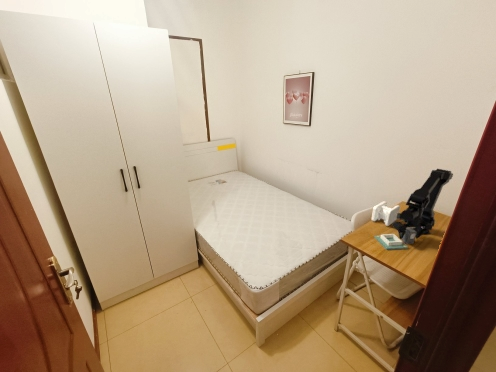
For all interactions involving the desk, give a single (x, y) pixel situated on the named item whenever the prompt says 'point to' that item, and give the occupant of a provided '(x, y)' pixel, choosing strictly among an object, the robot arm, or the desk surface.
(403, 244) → the board
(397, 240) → the socket
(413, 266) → the desk surface
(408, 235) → the plug
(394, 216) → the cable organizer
